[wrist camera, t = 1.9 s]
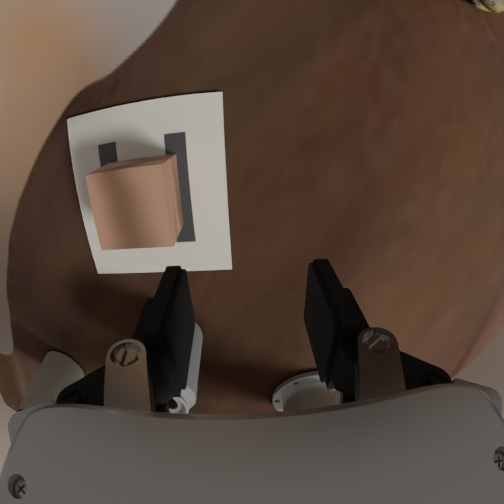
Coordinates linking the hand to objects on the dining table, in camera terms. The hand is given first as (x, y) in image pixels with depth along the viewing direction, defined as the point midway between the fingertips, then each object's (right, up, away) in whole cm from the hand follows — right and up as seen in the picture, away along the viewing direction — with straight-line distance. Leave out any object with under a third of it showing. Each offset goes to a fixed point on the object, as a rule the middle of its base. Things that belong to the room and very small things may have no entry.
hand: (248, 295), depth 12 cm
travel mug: (-32, -18, +28) cm, 46 cm away
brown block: (-10, +7, +15) cm, 19 cm away
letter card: (-10, +8, +15) cm, 20 cm away
